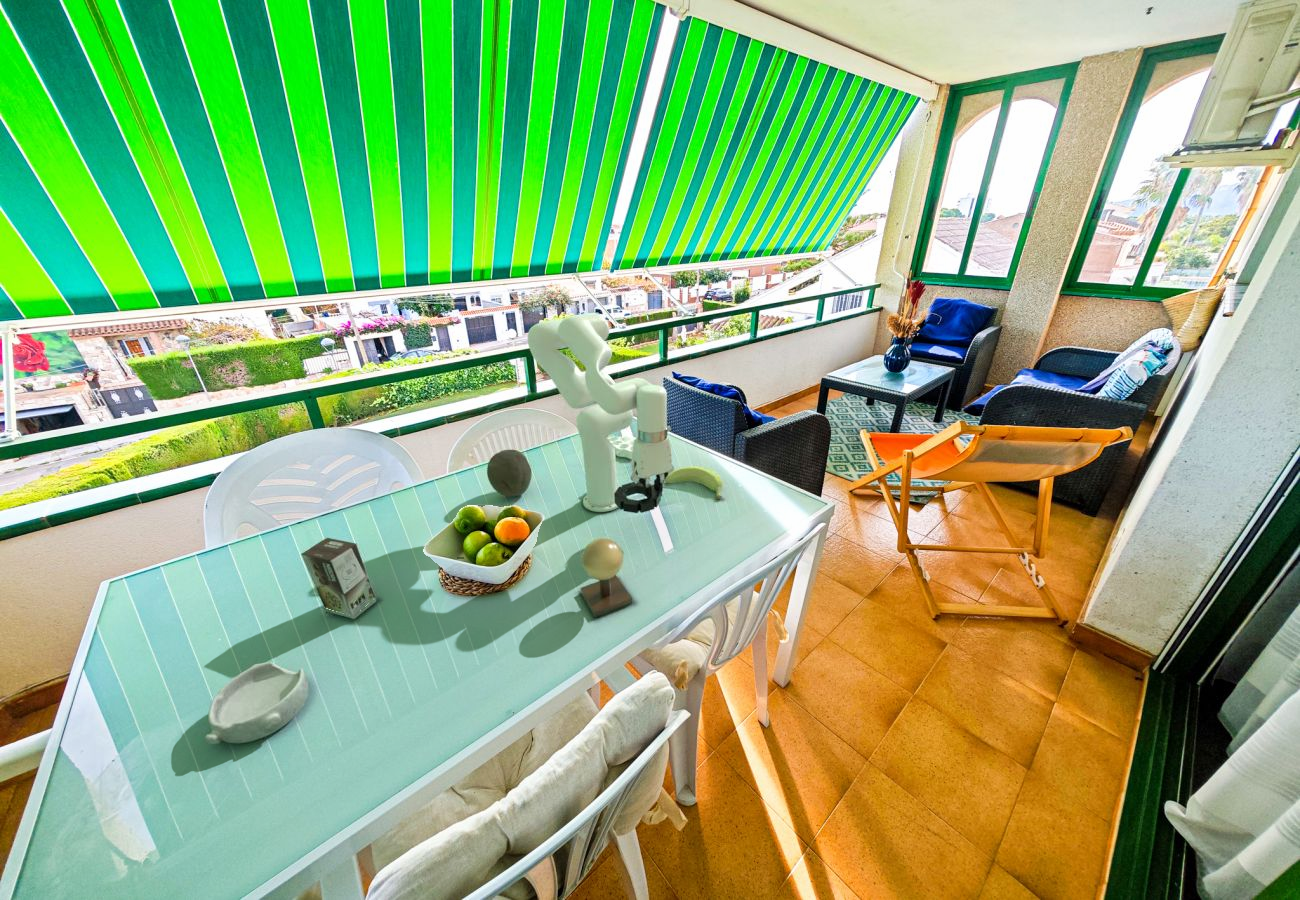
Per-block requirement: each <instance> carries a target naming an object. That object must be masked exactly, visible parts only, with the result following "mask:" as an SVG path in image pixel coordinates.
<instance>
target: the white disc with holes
mask: <svg viewBox="0 0 1300 900" xmlns="http://www.w3.org/2000/svg"><path fill="white" fill-rule="evenodd" d="M607 438H608V440H609V441H610V442H611V443H612V445H613V446H614V449H615V456H617V457H620V458H627V459H629V460H632V452H633V445H634V441H635V439H636V438H637V437H635V436H632V435H630V434H626V435H623V436H609V437H607Z"/></svg>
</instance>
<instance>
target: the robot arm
mask: <svg viewBox="0 0 1300 900" xmlns="http://www.w3.org/2000/svg"><path fill="white" fill-rule="evenodd" d="M609 334H610V326H609V323H608V321H607V320H606V318H605V317H604V316H603V315H602V314H600V313H597V312H589V313H588V312H587V313H582V314H576V315H575V314H574V315H570V316H568V317H564V318H557V319H550V320H546V321H542V322H538V323H536V324H534V325H533V326H531V328H529V330H528V333H527V344H528V349H529V351H530V353H531V355H532V357H533V359H534V360H535V362H536V363H537V364H538V365H539V366H540V368H541V369H543V371H544V372H545V373H546V374H547V375H548V376H549V378H550V379H551V381H552V382H553V384H554V385H555V387H556V388H557V390H558V392H559V393H560V395H561V396H562V398H563V399H564V401H565V402H566V404H567V405H568V406H569V407H570V408H571V409H575V410H577V409H582V410H581V411H580V412H579V413H578V414H577V416H576V420H575V424H576V428H577V431H578V434H579V438H580V442H581V447H582V455H583V464H584V475H585V485H586V495H585V496H584V497H583V499H582V504H583V507H584V508H585V509H586V510H588V511H591V512H595V513H606V512H607V513H608V512H610V511H614V510H616V509H619V507H618V506H617V505H616V504H615V499H614V493H615V492H616V490H617V489H618V488H619V486H618V474H617V473H618V472H617V459H616V454H615V449H614V446H613V445H612V443H611V442H610V441H609V440H608V438H609V437H610V435H613V434H614V433H618V432H620V431H622V430H623V431H624V430H625V429H627V428H629V427H630V426H631V425H632V423H633V422H634V411H633V410H636V426H637V427H636V433H637V437H635V438H636V439H635V441H634V445H633V452H632V459H631V471H632V473H631V475H630V480H631V482H635V483H637V482H640V483H641V484H643V494H642V495H643V496H644V497H645V498H649V496H650V494H651V493H652V487H651V486H650V483H651V477H653V476H655V479H654V480H653V484H654V485H655V486H656V487H657V488H658V489H659V490H660V492H661V497H662V496H663V491H664V489H663V488H664V485H663V484H665V478H666V477H667V476H668V474H670V473H671V472H672V471H674V470H675V467H674V465H673V453H672V446H671V441H670V437H669V436H668V432H671V431H672V428H671V426H670V425H668V418H667V417H668V392H667V390H666V388H665V387H664V386H661V385H658V384H653V383H651V382H649V381H648V380H647V379H644V378H641V377H635V378H631V379H628V380H624V381H620V382H617V383H616V382H615V381H614V380H613V378H612V377H611V376H610V375H609V374H608V373H607V372H604V371H603V370H604V369H605V368H606V367H607V366H608V364H609V363H610V361H611V359H612V355H613V351H612V348H611V347H610V346H609V344H607V342H606V340H607V339H608V338H609ZM567 348H568V349H569V350H570V351H571V353H572V354H573V355H574V356H575V357H576V359H577V360H578V361H579V362H580V363H581V364H582V365H583V366H584V367H585V372H582V371H581V370H580V368H579V367H578V366H577V364H576V363H575V361H574V360H573V359H572V358H570V357H569V356H568V355H566V354H564V353H562V352H560V351H559V350H561V349H562V350H563V349H567ZM583 408H584V409H583ZM608 436H609V437H608Z"/></svg>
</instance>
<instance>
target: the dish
mask: <svg viewBox="0 0 1300 900" xmlns="http://www.w3.org/2000/svg"><path fill="white" fill-rule="evenodd" d="M309 690H310V689H309V680H308V677H307V674H306V671H305V670H304V669H303V668H300V669H299V670H298V672H295V671H292V670H289V669H287V668H285V667H282V666H280V665H278V664H276V663H274V662H271V661H267V662H262V663H256V664H252V666H250V667H249V668H248V669H246V670H244V671H242V672H241V673H239V674H238V675H236V676H234V677H233V678H232V679H230V681H229V682H227V683H225V685H224V686H222V687H221V688H220V689H219V691H218V693H217V695H216V696H215V697H213V698H212V700H211V703H210V705H209V709H208V715H207V717H208V718H207V719H208V724H209V726H210V728H211V732H210V733H208V734H206V735H205V738H204V739H205V741H206V742H207V743H208V744H210V745H218V744H220V743H221V742H226V743H229V744H244V743H249V742H250V743H251V742H253V741H257V740H259V739H262V738H263V739H264V738H265V737H268V736H269V735H272V734H273V733H275V732H277V731H279V730H280V729H282V728H283V727H284V726H286V725H287V724H288V723H289V722H291V720H293V719H294V718H295V717H296V716H297V715H298V713H299V712H300V710H301V709H302V708H303V707H304V705H305V704H306V702H307V700H308V697H309Z"/></svg>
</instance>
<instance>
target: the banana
mask: <svg viewBox="0 0 1300 900" xmlns="http://www.w3.org/2000/svg"><path fill="white" fill-rule="evenodd" d="M682 482H690V483H691V482H693V483H698V484H701V485H703V486H705V487H707V488H708V489H709V490H711V491H714V492H716V497H715V498H716V499H717V500H722V499H723V497H722V494H721V490H722V489H723V480H722V478H721V476H720V475H719V474H718V473H716V472H715V471H713V470H711V469H710V468H706V467H702V466H696V465H690V466H682V467H679V468H677V469H674V471H672V472H671V473H670V474H668V476H667V477H666V478H665V481H664V484H675V483H682Z"/></svg>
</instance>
